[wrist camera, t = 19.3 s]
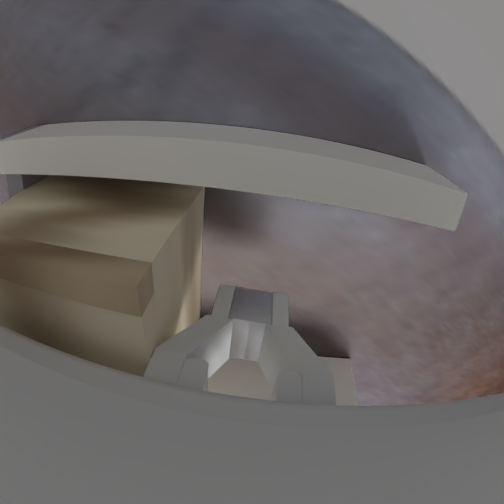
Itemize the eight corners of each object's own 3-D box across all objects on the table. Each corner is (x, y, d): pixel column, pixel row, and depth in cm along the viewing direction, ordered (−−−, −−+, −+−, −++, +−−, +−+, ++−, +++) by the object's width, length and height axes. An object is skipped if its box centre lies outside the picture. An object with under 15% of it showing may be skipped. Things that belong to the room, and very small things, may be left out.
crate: (206, 182, 11) (136, 285, 5) (201, 328, 14) (169, 441, 9) (51, 171, 11) (-53, 238, 5) (76, 301, 14) (19, 385, 9)
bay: (426, 165, 9) (468, 194, 7) (343, 372, 15) (349, 418, 13) (34, 125, 10) (-15, 143, 7) (72, 324, 15) (49, 360, 13)
